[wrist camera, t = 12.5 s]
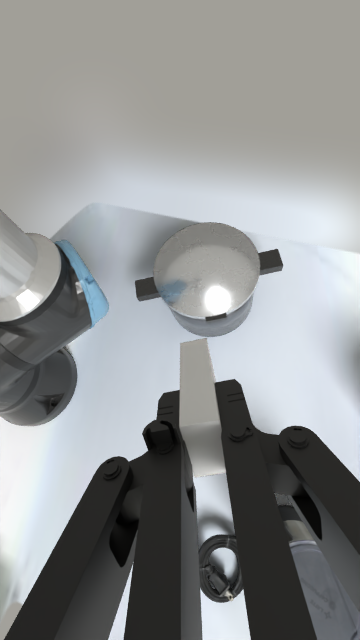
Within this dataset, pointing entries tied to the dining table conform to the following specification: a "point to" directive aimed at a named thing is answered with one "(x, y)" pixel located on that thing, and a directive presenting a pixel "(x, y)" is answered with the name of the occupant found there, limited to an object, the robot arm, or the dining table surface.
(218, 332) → the cooker pot
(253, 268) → the cooker lid
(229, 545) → the milk frother
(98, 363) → the dining table surface
